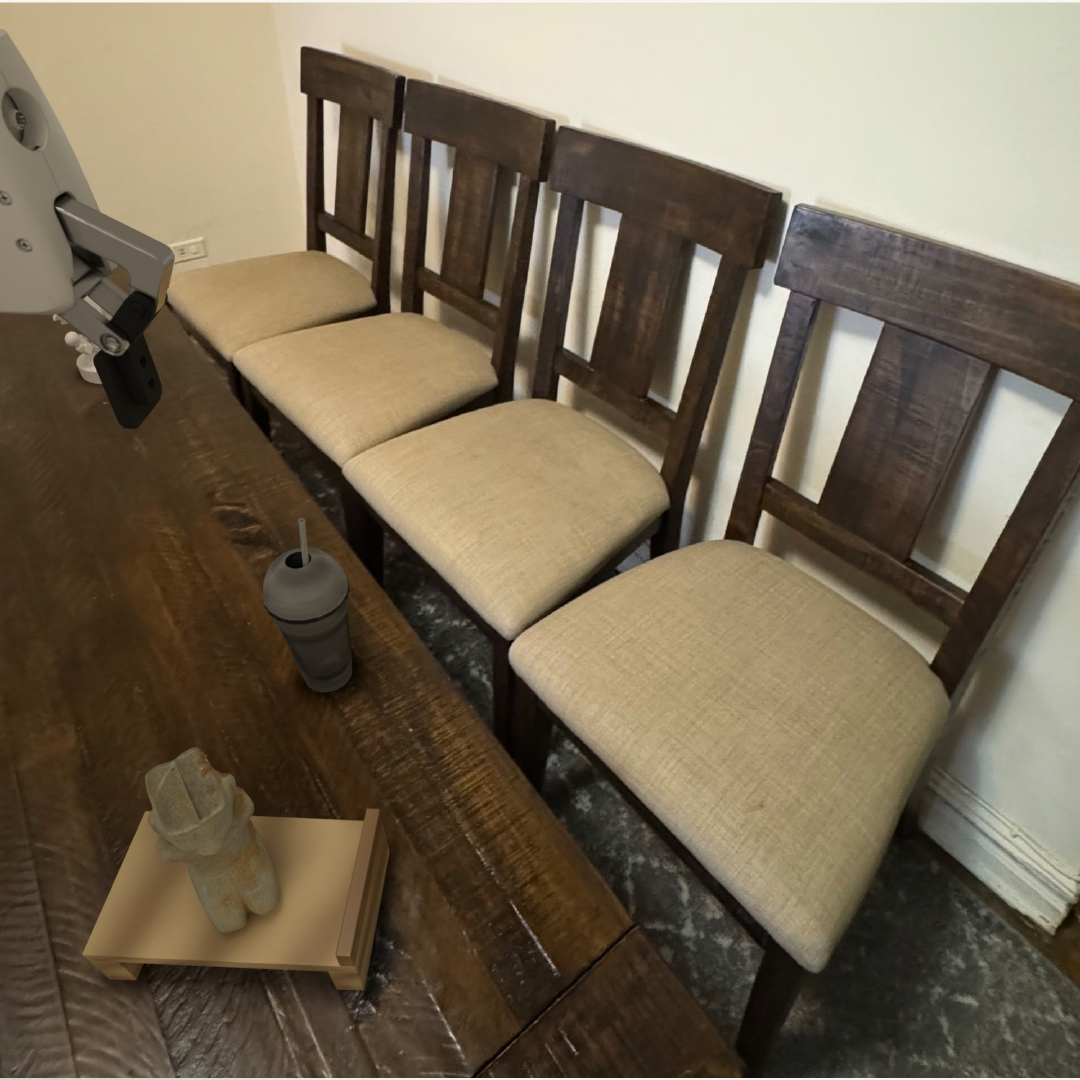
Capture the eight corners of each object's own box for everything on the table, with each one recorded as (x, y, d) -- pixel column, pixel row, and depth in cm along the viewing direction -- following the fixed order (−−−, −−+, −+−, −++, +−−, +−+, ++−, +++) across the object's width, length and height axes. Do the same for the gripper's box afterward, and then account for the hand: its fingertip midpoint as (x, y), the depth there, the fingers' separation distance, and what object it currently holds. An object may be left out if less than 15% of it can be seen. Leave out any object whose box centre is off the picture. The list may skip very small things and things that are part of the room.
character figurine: (70, 382, 108) (34, 304, 100) (100, 350, 115) (69, 275, 107) (131, 385, 108) (100, 307, 100) (157, 352, 115) (130, 277, 107)
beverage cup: (306, 639, 75) (261, 484, 61) (376, 648, 74) (346, 494, 60) (277, 699, 69) (221, 544, 56) (352, 709, 69) (314, 555, 55)
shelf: (108, 979, 52) (68, 944, 47) (165, 840, 59) (136, 797, 55) (364, 991, 52) (350, 956, 47) (389, 850, 59) (379, 808, 55)
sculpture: (210, 953, 49) (133, 853, 39) (186, 860, 53) (110, 747, 43) (297, 907, 51) (245, 801, 41) (266, 820, 56) (213, 705, 45)
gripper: (136, -16, 28) (244, 379, 40) (-309, -37, 29) (-72, 361, 40) (25, 16, 23) (188, 463, 34) (-524, -10, 23) (-178, 441, 35)
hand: (48, 407), depth 37 cm, fingers open, 9 cm apart
